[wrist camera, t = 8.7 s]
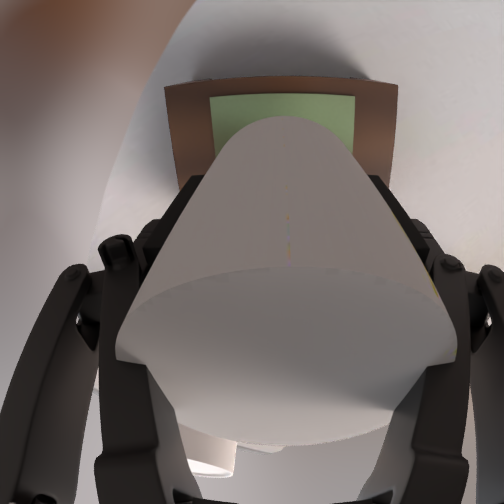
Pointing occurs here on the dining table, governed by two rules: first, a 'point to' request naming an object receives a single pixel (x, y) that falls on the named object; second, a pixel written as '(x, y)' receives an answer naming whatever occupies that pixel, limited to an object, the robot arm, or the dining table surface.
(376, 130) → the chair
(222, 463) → the canister
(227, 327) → the white round cylinder
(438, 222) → the dining table surface
